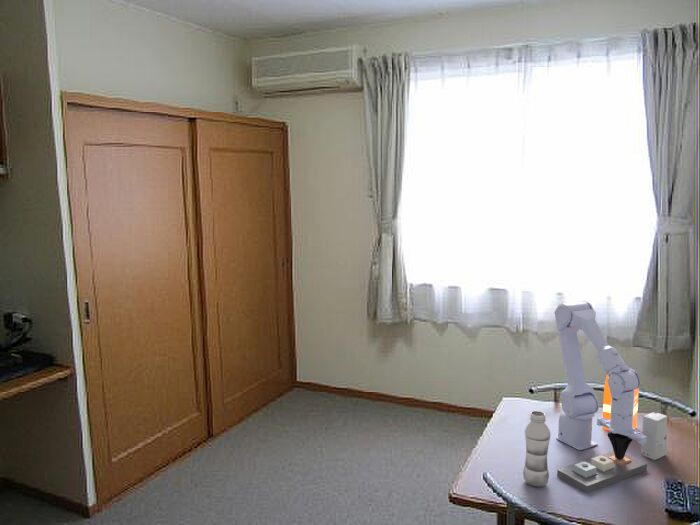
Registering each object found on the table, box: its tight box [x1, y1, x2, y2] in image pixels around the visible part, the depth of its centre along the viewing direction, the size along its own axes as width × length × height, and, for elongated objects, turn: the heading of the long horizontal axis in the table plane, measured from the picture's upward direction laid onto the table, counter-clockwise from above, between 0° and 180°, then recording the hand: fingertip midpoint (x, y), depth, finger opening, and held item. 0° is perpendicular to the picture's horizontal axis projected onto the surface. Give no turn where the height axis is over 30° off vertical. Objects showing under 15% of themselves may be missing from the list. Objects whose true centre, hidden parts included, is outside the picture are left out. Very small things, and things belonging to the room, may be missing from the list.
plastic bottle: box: [522, 410, 551, 488], centre depth 155 cm, size 6×7×20 cm
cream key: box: [591, 454, 614, 471], centre depth 161 cm, size 4×4×2 cm
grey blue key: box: [573, 460, 596, 478], centre depth 158 cm, size 4×4×2 cm
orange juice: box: [601, 374, 640, 431], centre depth 188 cm, size 8×9×20 cm
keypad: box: [556, 449, 648, 494], centre depth 161 cm, size 10×24×2 cm, turn 117°
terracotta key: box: [609, 455, 630, 466], centre depth 164 cm, size 4×4×2 cm
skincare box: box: [641, 411, 668, 461], centre depth 170 cm, size 6×4×12 cm
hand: (619, 457), depth 164 cm, fingers closed
